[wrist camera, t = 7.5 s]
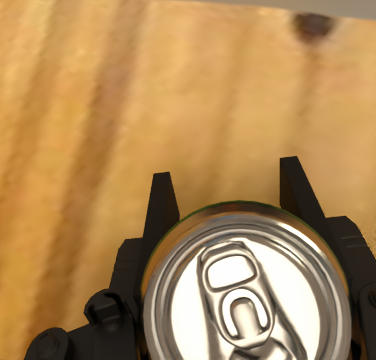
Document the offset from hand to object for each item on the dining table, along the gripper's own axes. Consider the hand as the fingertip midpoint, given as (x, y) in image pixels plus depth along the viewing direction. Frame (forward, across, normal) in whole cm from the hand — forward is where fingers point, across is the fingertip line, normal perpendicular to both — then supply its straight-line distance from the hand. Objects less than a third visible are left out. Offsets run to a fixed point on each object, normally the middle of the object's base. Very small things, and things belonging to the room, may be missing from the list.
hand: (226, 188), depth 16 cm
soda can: (0, 0, -5) cm, 5 cm away
